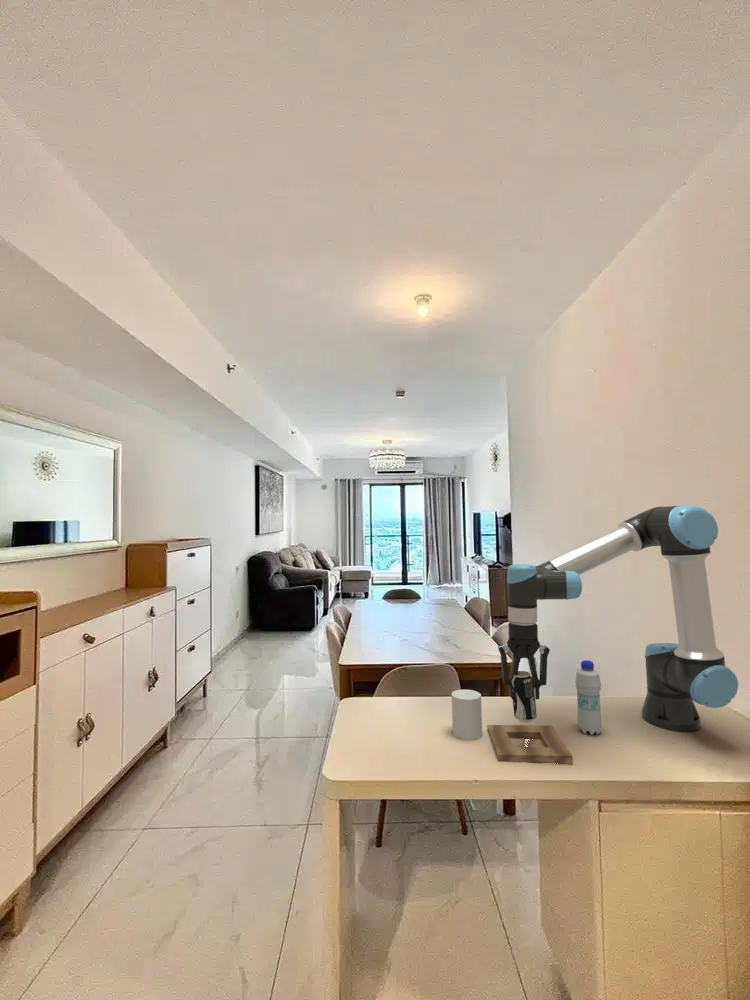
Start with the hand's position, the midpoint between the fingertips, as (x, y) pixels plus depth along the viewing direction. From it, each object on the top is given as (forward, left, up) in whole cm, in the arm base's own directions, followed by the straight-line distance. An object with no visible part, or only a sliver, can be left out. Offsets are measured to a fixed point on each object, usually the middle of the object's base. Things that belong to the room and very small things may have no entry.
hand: (524, 711), depth 131 cm
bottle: (-20, -11, -10) cm, 25 cm away
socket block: (0, 0, -10) cm, 10 cm away
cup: (+15, -6, -10) cm, 19 cm away
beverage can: (0, 0, -2) cm, 2 cm away
